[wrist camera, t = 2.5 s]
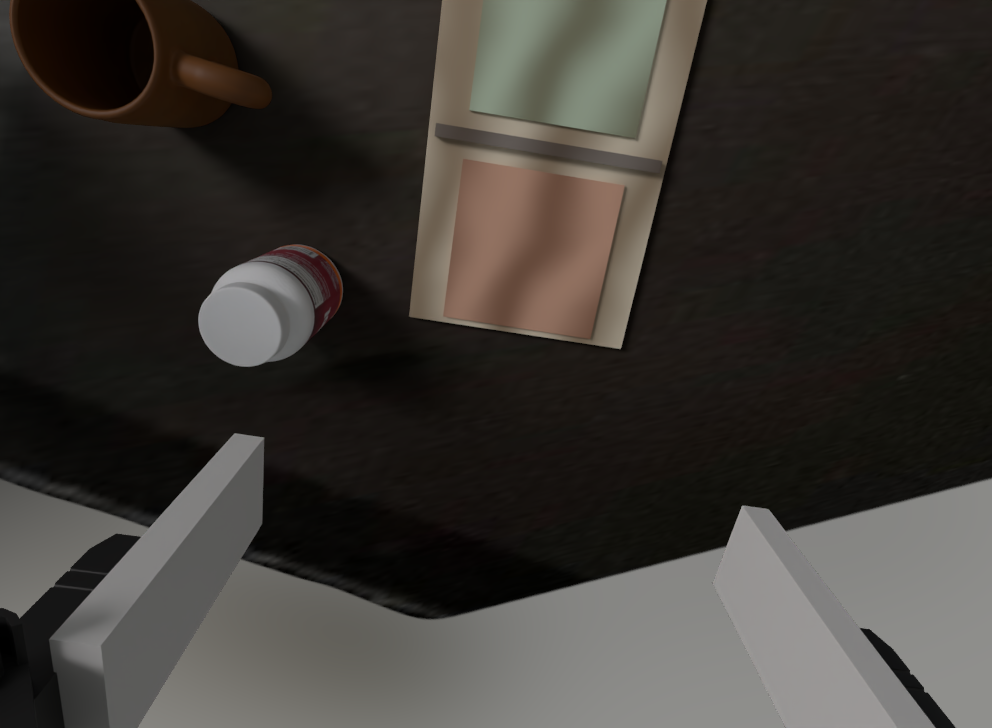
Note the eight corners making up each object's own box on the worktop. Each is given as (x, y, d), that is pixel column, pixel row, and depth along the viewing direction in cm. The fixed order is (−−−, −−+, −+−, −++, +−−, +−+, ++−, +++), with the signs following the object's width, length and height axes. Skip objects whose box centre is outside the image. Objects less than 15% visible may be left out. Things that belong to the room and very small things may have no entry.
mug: (320, 44, 36) (261, 9, 27) (299, 164, 39) (239, 168, 30) (129, -21, 35) (4, -79, 26) (120, 108, 38) (3, 94, 29)
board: (410, 314, 42) (407, 319, 41) (454, -108, 33) (453, -118, 32) (619, 346, 43) (622, 352, 42) (718, -59, 34) (726, -67, 33)
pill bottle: (294, 339, 43) (229, 398, 33) (244, 269, 41) (158, 307, 31) (362, 300, 42) (316, 349, 32) (313, 226, 40) (248, 252, 30)
